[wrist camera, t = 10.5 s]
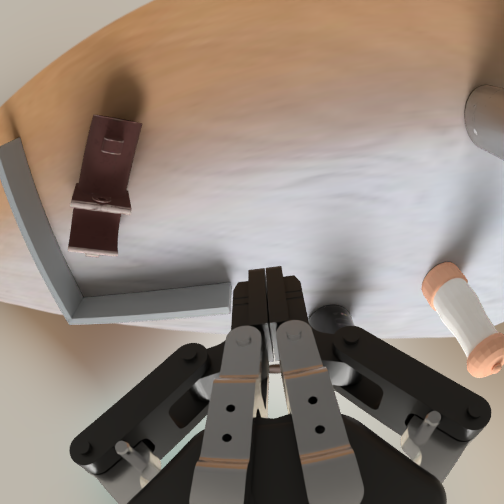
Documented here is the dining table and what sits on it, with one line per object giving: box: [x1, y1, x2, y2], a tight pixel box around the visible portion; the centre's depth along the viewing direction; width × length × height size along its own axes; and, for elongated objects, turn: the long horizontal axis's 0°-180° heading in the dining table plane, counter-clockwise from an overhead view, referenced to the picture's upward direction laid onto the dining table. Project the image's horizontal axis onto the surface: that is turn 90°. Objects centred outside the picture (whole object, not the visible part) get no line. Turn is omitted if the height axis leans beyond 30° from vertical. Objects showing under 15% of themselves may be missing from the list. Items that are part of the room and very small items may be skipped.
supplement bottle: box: [309, 305, 354, 391], centre depth 42 cm, size 7×7×12 cm
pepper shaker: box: [422, 262, 504, 378], centre depth 36 cm, size 7×7×19 cm
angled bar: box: [0, 137, 232, 325], centre depth 35 cm, size 25×28×5 cm
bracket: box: [68, 115, 142, 257], centre depth 31 cm, size 6×17×10 cm, turn 162°
